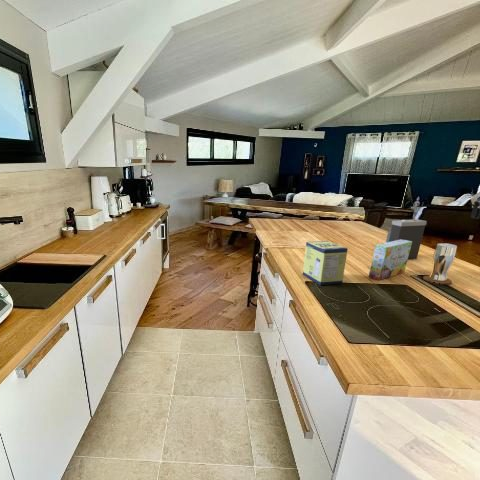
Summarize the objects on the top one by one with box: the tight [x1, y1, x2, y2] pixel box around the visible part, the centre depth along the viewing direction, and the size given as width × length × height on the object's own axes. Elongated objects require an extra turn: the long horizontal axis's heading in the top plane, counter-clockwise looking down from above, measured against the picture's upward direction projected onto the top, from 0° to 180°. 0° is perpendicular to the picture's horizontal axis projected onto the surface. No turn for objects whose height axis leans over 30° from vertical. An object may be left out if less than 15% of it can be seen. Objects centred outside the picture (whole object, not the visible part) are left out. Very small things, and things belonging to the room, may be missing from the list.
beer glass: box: [428, 242, 458, 281], centre depth 132 cm, size 7×7×15 cm
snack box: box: [368, 240, 412, 281], centre depth 140 cm, size 21×6×15 cm, turn 122°
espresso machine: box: [385, 218, 428, 260], centre depth 166 cm, size 9×14×21 cm, turn 100°
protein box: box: [302, 240, 348, 286], centre depth 136 cm, size 10×16×16 cm
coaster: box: [422, 275, 453, 286], centre depth 135 cm, size 10×10×1 cm
